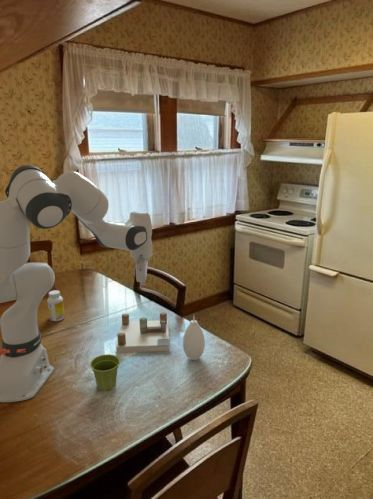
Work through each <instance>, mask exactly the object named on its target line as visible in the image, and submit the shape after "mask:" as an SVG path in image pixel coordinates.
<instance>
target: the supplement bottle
mask: <svg viewBox="0 0 373 499" xmlns="http://www.w3.org/2000/svg"><path fill="white" fill-rule="evenodd" d="M46 302H47V309H48V316H49V320H50V321H51V322H59V321H62V320H64V319H65V317H66V313H65V305H64V304H65V303H64V298H63V296H61V291H60V290H58V289H57V290H54V289H53V290H49V291H48V298H47V300H46Z"/></svg>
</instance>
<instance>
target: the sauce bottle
mask: <svg viewBox="0 0 373 499" xmlns="http://www.w3.org/2000/svg"><path fill="white" fill-rule="evenodd" d="M182 339H183V340H182V347H183V352H184V354H185V355H186V357H187V358H188V359H189V360H191V361H196V360H198V359H200V358H201V357H202V355H203V353H204V351H205V346H206V345H205V344H206V343H205V335H204V333H203V330H202V327H201V326H200V324H199V323H198V320H196V319H195V315H193V318H192V319H191V320H190V322H189V324H188V325H187V327H186V329H185V331H184V334H183V338H182Z"/></svg>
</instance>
